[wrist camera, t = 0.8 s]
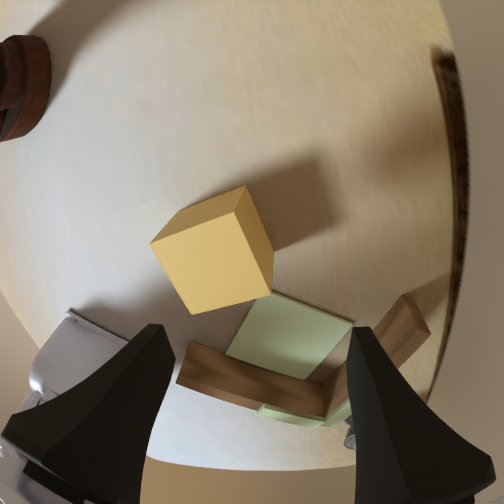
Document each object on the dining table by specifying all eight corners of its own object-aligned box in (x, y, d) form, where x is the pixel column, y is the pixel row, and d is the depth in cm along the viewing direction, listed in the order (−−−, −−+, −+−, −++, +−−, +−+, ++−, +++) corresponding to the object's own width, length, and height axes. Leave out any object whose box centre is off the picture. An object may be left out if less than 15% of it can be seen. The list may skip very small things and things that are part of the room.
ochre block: (209, 271, 21) (191, 315, 17) (178, 210, 19) (149, 243, 15) (274, 251, 20) (270, 294, 16) (246, 184, 18) (233, 211, 14)
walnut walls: (187, 350, 26) (173, 387, 22) (241, 223, 19) (230, 256, 15) (326, 395, 27) (328, 431, 23) (414, 301, 21) (433, 339, 17)
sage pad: (225, 352, 25) (225, 354, 25) (262, 287, 21) (262, 289, 21) (304, 377, 26) (304, 380, 26) (352, 322, 22) (353, 324, 22)
